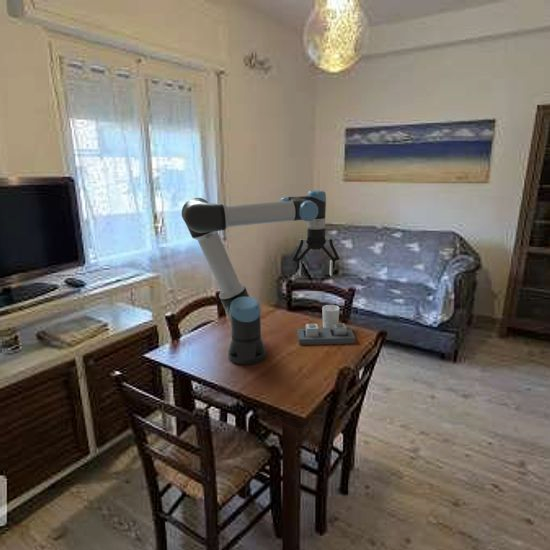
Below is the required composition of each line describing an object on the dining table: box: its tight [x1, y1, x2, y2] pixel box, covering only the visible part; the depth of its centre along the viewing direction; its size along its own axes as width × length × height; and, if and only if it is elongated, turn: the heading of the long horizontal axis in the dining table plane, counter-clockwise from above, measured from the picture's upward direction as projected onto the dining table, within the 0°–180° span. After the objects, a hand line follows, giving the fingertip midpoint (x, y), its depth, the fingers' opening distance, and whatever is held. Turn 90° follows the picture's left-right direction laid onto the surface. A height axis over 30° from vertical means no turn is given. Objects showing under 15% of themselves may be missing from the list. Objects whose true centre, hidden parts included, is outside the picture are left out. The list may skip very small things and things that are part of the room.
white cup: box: [321, 304, 340, 328], centre depth 186 cm, size 8×8×10 cm
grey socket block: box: [296, 323, 356, 346], centre depth 176 cm, size 24×11×6 cm, turn 92°
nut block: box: [332, 322, 347, 336], centre depth 176 cm, size 5×5×6 cm
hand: (315, 275), depth 176 cm, fingers open, 13 cm apart
